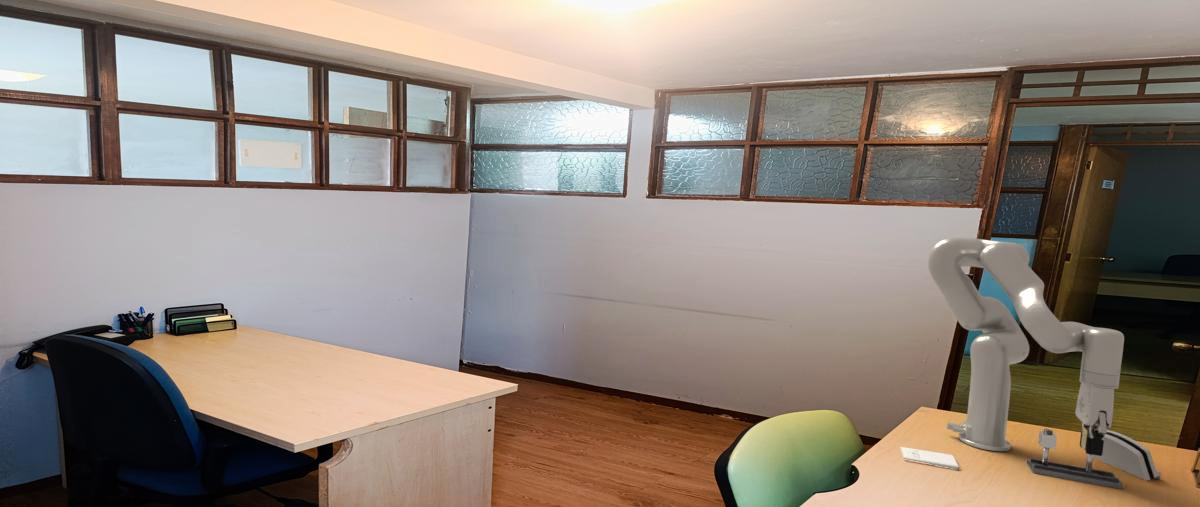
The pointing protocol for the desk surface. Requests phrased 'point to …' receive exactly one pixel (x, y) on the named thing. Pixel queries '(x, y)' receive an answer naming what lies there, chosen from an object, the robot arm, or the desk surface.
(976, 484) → the desk surface
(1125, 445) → the white black arched block
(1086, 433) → the tan square-headed peg
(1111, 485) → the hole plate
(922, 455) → the external hard drive
